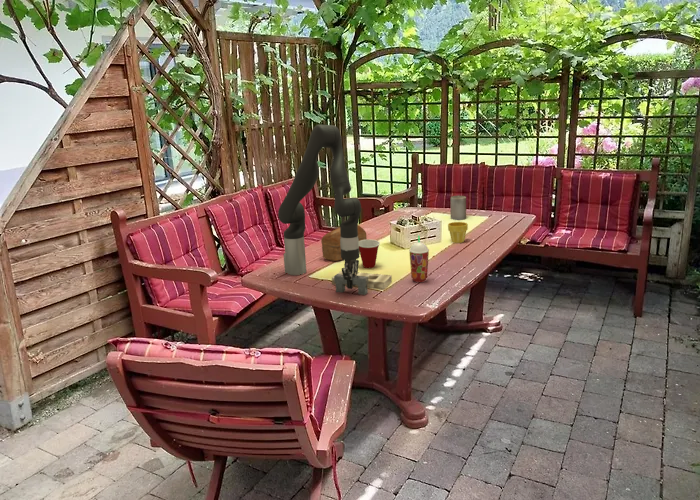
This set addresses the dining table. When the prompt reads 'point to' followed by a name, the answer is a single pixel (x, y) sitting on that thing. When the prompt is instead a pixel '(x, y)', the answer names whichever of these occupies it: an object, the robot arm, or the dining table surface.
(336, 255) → the bread
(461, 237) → the plant pot
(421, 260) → the smoothie
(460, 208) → the pillar candle
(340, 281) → the grey bridge block
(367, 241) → the plastic cup
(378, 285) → the ice cube tray
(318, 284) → the dining table surface
